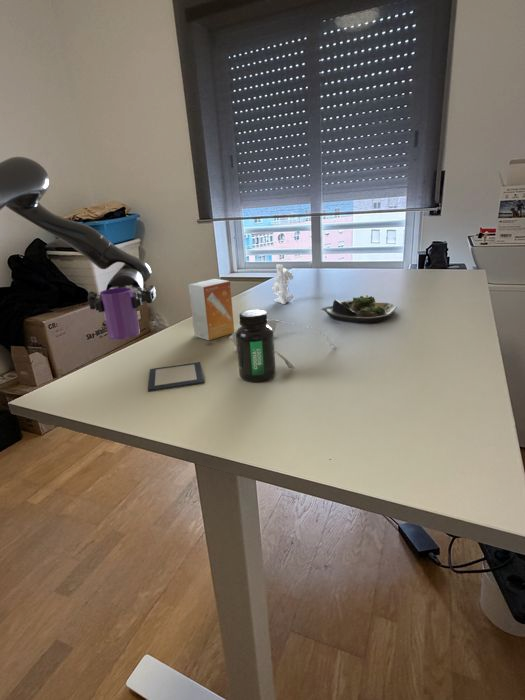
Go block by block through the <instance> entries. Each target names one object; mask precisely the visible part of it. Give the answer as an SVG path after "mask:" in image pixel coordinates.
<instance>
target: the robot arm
mask: <svg viewBox="0 0 525 700" xmlns="http://www.w3.org/2000/svg"><path fill="white" fill-rule="evenodd" d="M49 185H50V177H49V174H48V172H47V170H46V169H45V168H44V167H43V166H42V165H41V164H40V163H39V162H37V161H36V160H34V159H31V158H28V157H24V156H12V157H9V158H7V159H5V160H2V161H0V211H2V209H4V208H5V207H6V208H8V210H11V211H12V212H14V213H15V214H16V215H18V216H20V217H22V218H23V219H25V220H27V221H29V222H30V223H32V224H34V225H35V226H37V227H39V228H40V229H42V230H44V231H45V232H47V233H48V234H50V235H53V236H54V237H55V238H57V239H59V240H61V241H63V242H64V243H66V244H67V245H68V246H70V247H71V248H73V249H74V250H76V251H77V252H78V253H80V255H82V256H83V257H85V258H86V259H87V260H88V261H90V262H91V263H92V264H94V265H95V266H96V267H97V268H99V269H100V270H107V269H108V268H109V267H111V266H113V265H114V264H116V263H123V265H122V266H121V267H120V269H118V271H116V273H115V274H114V275H113V276H112V277H111V279H110V280H109V281H108V283H107V286H106V288H105V290H108V289H114V288H132V289H133V294H134V296H133V302H134V308H135V309H136V310H137V309H139V308H140V307H141V306H143V305H144V302H146V304H152V303H153V302H154V300H156V299H157V294H156V293H157V292H156V286H155V285H154V284H153V285H149V286H147V287H145V288H144V285H145V284H146V282H147V281H148V280H149V279H150V278H151V277H152V268H151V267H150V265H149V264H148V263H147V262H146V261H144V260H142V259H141V258H138V257H137V256H134V255H132V254H130V253H129V252H126V251H124V250H123V249H121V248H119V247H118V246H116V245H115V244H114V243H112V242H111V241H110V240H109V239H108V238H107V237H105V236H104V235H103V234H102V233H100V231H98V230H97V229H95V228H93V227H91V226H90V225H87V224H85V223H81V222H79V221H74V220H71V219H69V218H65V217H62V216H60V215H57V214H56V213H53V212H52V211H50V210H49V209H47V208H46V207H45V206H43V205H42V204H41V203H40V201H41V200H42V199H43V197H44V196H45V194H46V193H47V191H48V189H49ZM87 301H88V305H89V309H90V310H95V311H96V312H97V311H98V313H104V311H103V306H102V301H101V297H100V294H98V293H97V292H95V291H89V292H87Z"/></svg>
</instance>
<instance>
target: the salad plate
mask: <svg viewBox="0 0 525 700" xmlns="http://www.w3.org/2000/svg"><path fill="white" fill-rule="evenodd" d="M332 302H333V303H332V305H329V306H328V305H327V306H324V307H321V308H320V310H321V311H323V312H325V313H326V314H327V315H328V316H329V317H330V319H332V320H334V321H338V322H344V323H352V324H366V325H367V324H378V323H381V322H383V321H385V320H387V319H388V318H390V316H391V315H392V314H394V312H395V311H396V309H397V306H396V304H394V303H390V302H377V301H376V299H375V297H374V296H372V295H371V296H369V295H365V296H363V295H360V296H357V297H352V299H351V300H342V301H339V300H337V299H334V300H333V301H332Z"/></svg>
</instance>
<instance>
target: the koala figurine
mask: <svg viewBox="0 0 525 700" xmlns="http://www.w3.org/2000/svg"><path fill="white" fill-rule="evenodd" d="M275 268H276V270H275V271H276V276H275V277H274V283H272V287H271V290H272V293H273V294H274V295H275V296H278V297H277V298H274V299H273V302H275V303H279V304H282V305H286V304H287V303H291V301H292V299H293V298H294V297H295V296H294V294H290V295H289V292H290V289H289V287H288V286H289V285H290V283H289V281H292V280H293V279H294V278H295V277H294V275H293V274H292V272H291V271H290V270H289V269H287V267H284V265H283V263H282V264H281V263H276V265H275Z"/></svg>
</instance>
